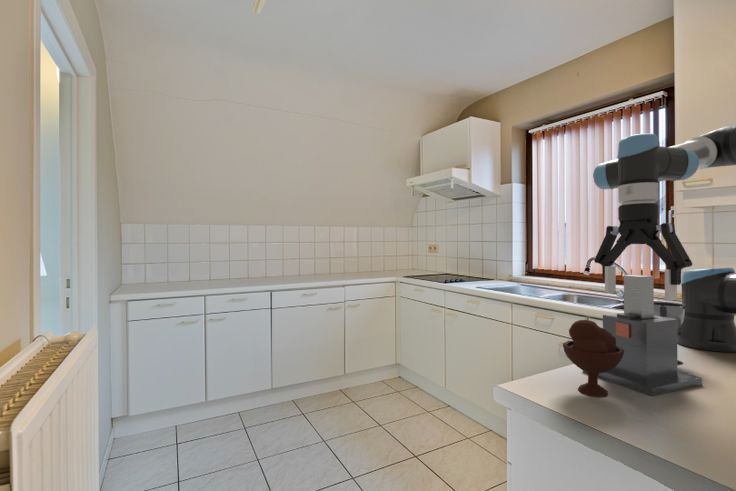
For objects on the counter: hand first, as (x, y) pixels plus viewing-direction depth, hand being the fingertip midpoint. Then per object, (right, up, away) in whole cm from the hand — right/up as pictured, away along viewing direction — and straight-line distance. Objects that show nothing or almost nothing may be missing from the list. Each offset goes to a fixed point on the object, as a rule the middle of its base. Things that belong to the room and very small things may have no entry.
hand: (638, 296), depth 87 cm
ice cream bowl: (-15, -19, -8) cm, 26 cm away
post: (0, -17, 0) cm, 17 cm away
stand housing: (0, -19, 0) cm, 19 cm away
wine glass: (+16, -19, +12) cm, 28 cm away
